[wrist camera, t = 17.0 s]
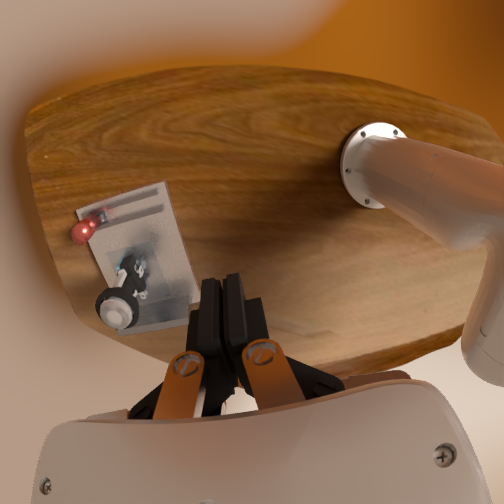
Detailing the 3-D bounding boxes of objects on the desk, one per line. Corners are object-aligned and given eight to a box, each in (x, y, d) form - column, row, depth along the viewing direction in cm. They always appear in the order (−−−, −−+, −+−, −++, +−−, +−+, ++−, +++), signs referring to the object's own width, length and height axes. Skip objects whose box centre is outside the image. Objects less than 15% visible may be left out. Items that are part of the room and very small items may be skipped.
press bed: (166, 178, 32) (156, 192, 26) (202, 295, 41) (202, 324, 35) (80, 206, 32) (58, 224, 26) (126, 310, 40) (117, 338, 35)
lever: (100, 208, 31) (85, 222, 26) (107, 224, 32) (93, 241, 27) (82, 214, 30) (66, 229, 26) (88, 230, 32) (73, 247, 27)
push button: (161, 287, 37) (151, 337, 29) (130, 297, 37) (114, 345, 29) (141, 248, 34) (121, 292, 25) (109, 259, 34) (84, 304, 25)
